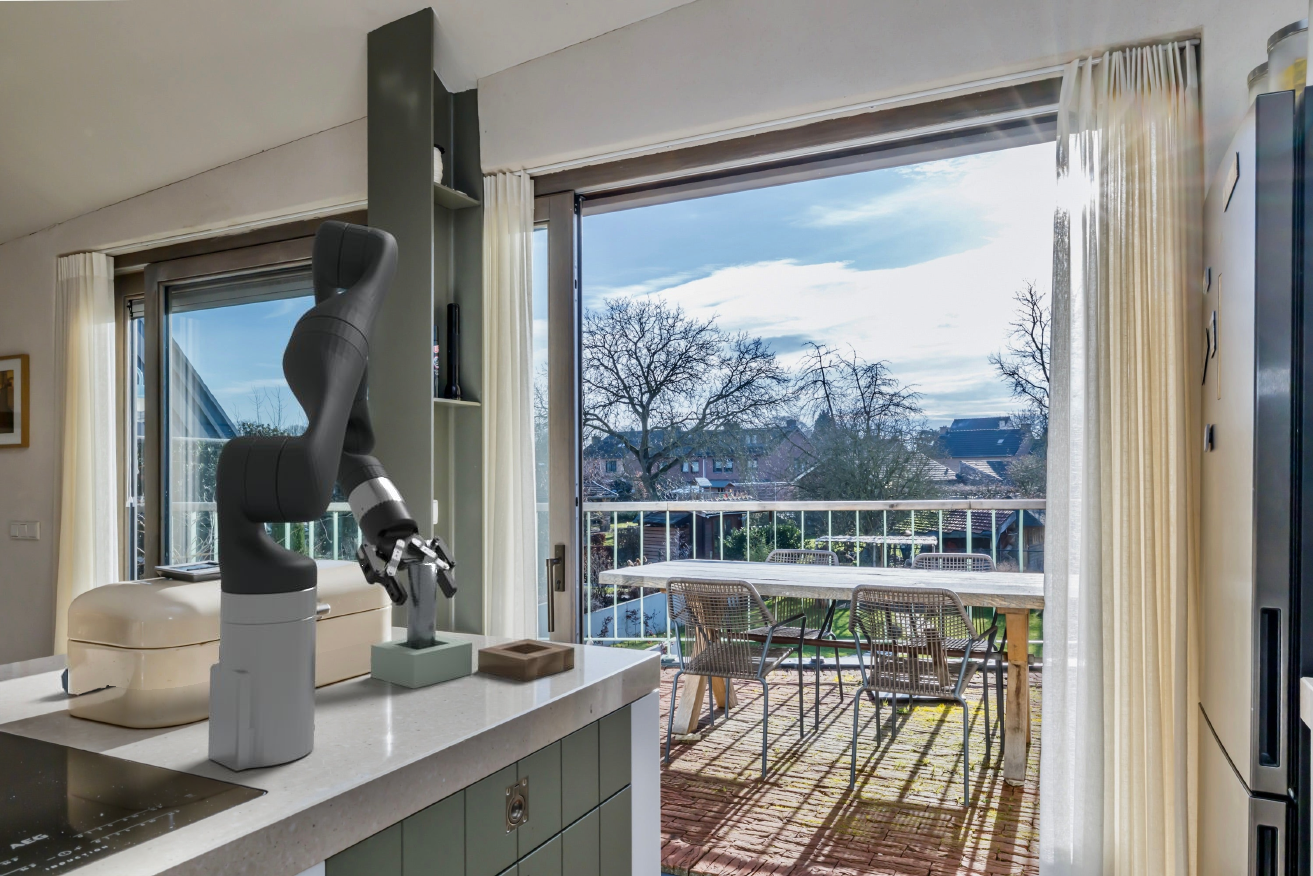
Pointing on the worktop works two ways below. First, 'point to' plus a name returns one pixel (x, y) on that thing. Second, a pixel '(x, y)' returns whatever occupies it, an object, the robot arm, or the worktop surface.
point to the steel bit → (421, 605)
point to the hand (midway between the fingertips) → (428, 598)
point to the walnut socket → (526, 659)
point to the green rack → (421, 662)
